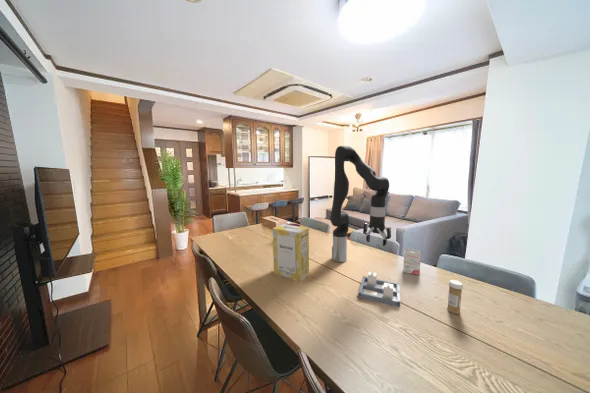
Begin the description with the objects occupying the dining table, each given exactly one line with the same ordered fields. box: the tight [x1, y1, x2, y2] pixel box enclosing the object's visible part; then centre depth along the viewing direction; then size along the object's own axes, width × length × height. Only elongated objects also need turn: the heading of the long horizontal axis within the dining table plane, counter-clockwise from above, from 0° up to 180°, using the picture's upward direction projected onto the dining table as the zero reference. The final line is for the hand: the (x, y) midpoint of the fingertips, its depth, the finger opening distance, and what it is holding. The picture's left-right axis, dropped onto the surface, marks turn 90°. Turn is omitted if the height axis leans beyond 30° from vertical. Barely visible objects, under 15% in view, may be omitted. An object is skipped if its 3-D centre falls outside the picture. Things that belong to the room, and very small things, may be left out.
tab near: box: [383, 283, 393, 299], centre depth 100 cm, size 4×4×6 cm
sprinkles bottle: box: [446, 279, 464, 315], centre depth 91 cm, size 5×5×13 cm
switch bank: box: [357, 276, 401, 308], centre depth 106 cm, size 18×17×2 cm
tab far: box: [367, 271, 378, 286], centre depth 111 cm, size 4×4×6 cm
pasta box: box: [272, 223, 310, 282], centre depth 125 cm, size 18×10×28 cm, turn 60°
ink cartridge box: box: [402, 248, 421, 276], centre depth 126 cm, size 9×5×15 cm, turn 62°
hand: (376, 243), depth 116 cm, fingers open, 8 cm apart
